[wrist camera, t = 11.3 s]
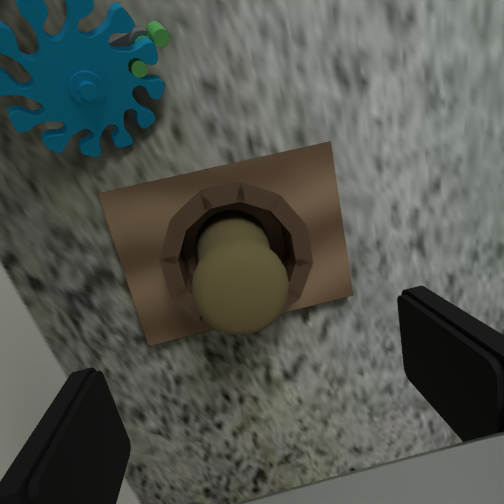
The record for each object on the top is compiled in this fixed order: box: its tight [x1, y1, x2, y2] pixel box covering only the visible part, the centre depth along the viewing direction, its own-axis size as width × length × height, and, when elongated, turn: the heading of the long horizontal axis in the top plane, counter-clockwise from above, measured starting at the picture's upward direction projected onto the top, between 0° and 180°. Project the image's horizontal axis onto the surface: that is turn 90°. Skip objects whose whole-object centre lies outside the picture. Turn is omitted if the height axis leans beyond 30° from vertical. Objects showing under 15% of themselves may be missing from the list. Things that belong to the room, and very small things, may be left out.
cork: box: [192, 210, 289, 335], centre depth 22 cm, size 6×6×11 cm
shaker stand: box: [98, 141, 353, 346], centre depth 26 cm, size 13×18×5 cm
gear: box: [0, 0, 170, 157], centre depth 22 cm, size 11×6×10 cm
